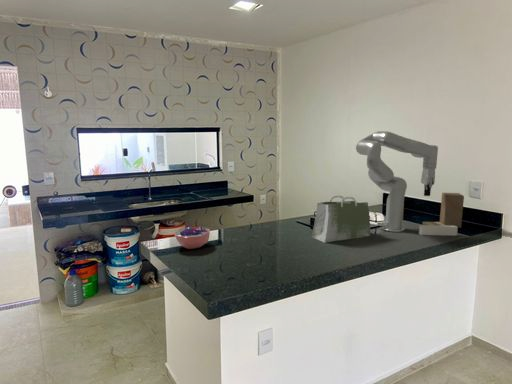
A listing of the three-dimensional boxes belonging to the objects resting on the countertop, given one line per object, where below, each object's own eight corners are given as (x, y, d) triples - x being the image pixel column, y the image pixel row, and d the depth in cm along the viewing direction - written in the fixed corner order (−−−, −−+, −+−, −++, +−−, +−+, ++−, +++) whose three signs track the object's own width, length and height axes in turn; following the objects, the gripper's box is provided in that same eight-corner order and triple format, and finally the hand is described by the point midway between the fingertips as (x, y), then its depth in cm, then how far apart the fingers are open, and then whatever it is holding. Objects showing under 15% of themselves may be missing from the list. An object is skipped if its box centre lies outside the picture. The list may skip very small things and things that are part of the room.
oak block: (428, 234, 219) (428, 225, 218) (421, 229, 228) (422, 221, 227) (445, 234, 219) (446, 225, 218) (438, 230, 228) (439, 221, 227)
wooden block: (461, 228, 231) (464, 195, 228) (443, 227, 233) (446, 195, 230) (456, 224, 241) (459, 193, 238) (439, 223, 243) (441, 192, 240)
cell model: (218, 244, 198) (218, 223, 196) (193, 255, 181) (192, 232, 179) (193, 239, 207) (192, 219, 205) (167, 249, 190) (166, 227, 188)
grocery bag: (355, 230, 227) (356, 191, 223) (371, 236, 214) (373, 195, 211) (310, 236, 213) (311, 196, 209) (325, 243, 201) (326, 200, 197)
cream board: (420, 234, 216) (421, 226, 215) (418, 233, 219) (419, 225, 218) (456, 235, 215) (457, 227, 214) (454, 234, 218) (455, 225, 217)
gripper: (418, 164, 237) (416, 193, 240) (427, 166, 222) (425, 197, 225) (431, 164, 237) (428, 193, 240) (440, 167, 222) (438, 198, 225)
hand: (426, 195), depth 232 cm, fingers closed
